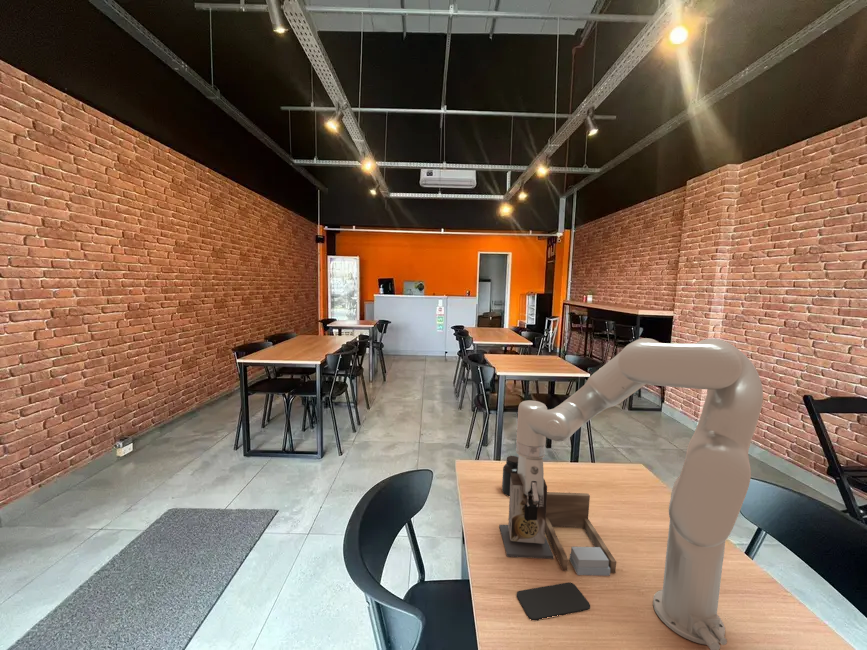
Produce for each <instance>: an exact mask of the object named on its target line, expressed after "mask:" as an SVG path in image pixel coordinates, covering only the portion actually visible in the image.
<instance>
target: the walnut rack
mask: <svg viewBox="0 0 867 650" xmlns="http://www.w3.org/2000/svg"><path fill="white" fill-rule="evenodd" d="M590 497H591V496H590V494H589V493H583V492H578V493H577V492H556V491H555V492H554V491H553V492H552V491H547V503H546V524H545V535H546V536H547V537H546V538H548V541H549V543H550V545H551V547H552V550H553V552H554V554H555V555H554V556H556V559H557V561H558V564H559V566H560V568H561V570H562V572H563V571H565V572H567V571H568V570H569V558H568V555H567V554H566V552H565V550H564V548H563V545H562V544H561V542H560V539H559V538H558V535H557V533H556V531H555V530H554V528H575V529H576V528H577V529H583V530H584V531H585V534H587V536H588V538H589V540H590V541H591V543H592V544H593V547H600V548H601V549H602V551H603V552H604V554H605V555H606V557H607V558H608V560H609V565H608V566H609V567H610V574H612V573H613V574H615V573H616V569H617V560H616V559H615V557H614V555H613V554H612V553H611V551H610V550H609V548H608V546H607V545H606V544H605V542H604V540H603V539H602V538H601V536H600V534H599V533H598V532H597V530H596V528H595V527H594V525H593V524H592V522H591V521H590V519H589V513H590V501H591V500H590V499H591V498H590Z"/></svg>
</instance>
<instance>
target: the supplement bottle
mask: <svg viewBox="0 0 867 650" xmlns="http://www.w3.org/2000/svg"><path fill="white" fill-rule="evenodd" d="M518 457H519V456H516V455H508V456H507V457H506V462H505V464H504V465H503V467H502V479H501V480H502V483H501V491H502V493H503V494H504V495H505V494H506V495H505V496H507V495H508V497H510V477H511V473H518Z"/></svg>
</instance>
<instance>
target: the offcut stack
mask: <svg viewBox="0 0 867 650" xmlns="http://www.w3.org/2000/svg"><path fill="white" fill-rule="evenodd" d="M569 561H570V564H571V565H572V567H573V569H574V571H575V573H576V576H600V577H601V576H604V577H607V576H608V577H609V576H611V573H610V567H609V566H608V565H609V560H608V558H607V557H606V555H605V554H604V552H603V551H602V549H601V548H600V547H595V546H571V549H570V554H569Z"/></svg>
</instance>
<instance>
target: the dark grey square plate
mask: <svg viewBox="0 0 867 650" xmlns="http://www.w3.org/2000/svg"><path fill="white" fill-rule="evenodd" d="M498 527H499V532H500V535H501V539H502V543H503V545H504V546H503V548H504V550H505V553H506V554H505V555H506V558H521V559H526V558H527V559H550V560H551V559H553V560H554V556H555V555H554V553H553V551H552V549H551V547H550V545H549V542H548V540H547V537H546V536H545V544H540V543H528V542H515V541H511V540H510V535H509V528H508V524H499V526H498Z"/></svg>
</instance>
